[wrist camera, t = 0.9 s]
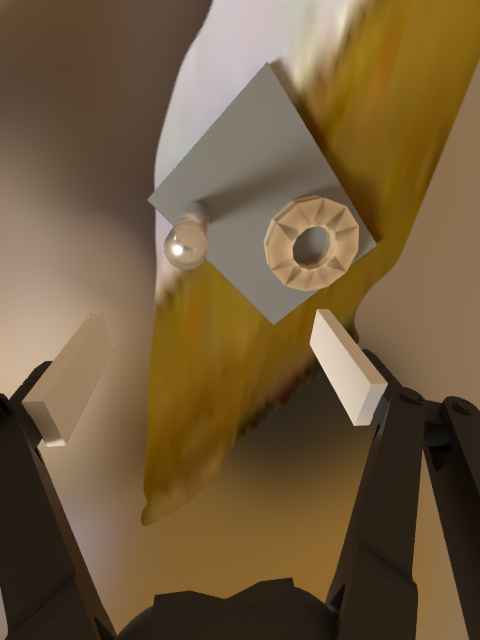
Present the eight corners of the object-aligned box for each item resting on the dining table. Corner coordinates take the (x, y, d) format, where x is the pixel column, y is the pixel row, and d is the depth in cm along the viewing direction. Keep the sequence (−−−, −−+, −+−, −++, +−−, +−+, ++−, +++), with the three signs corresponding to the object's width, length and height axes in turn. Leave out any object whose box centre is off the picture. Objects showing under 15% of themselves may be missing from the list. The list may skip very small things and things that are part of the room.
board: (150, 198, 32) (147, 200, 30) (264, 66, 26) (267, 61, 25) (271, 319, 42) (273, 324, 41) (371, 242, 37) (377, 244, 35)
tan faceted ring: (247, 240, 34) (250, 246, 31) (318, 174, 30) (328, 175, 28) (296, 296, 38) (302, 305, 36) (362, 244, 35) (374, 250, 33)
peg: (179, 214, 31) (154, 248, 18) (196, 195, 30) (183, 218, 18) (197, 233, 33) (186, 277, 20) (214, 215, 32) (215, 250, 19)
